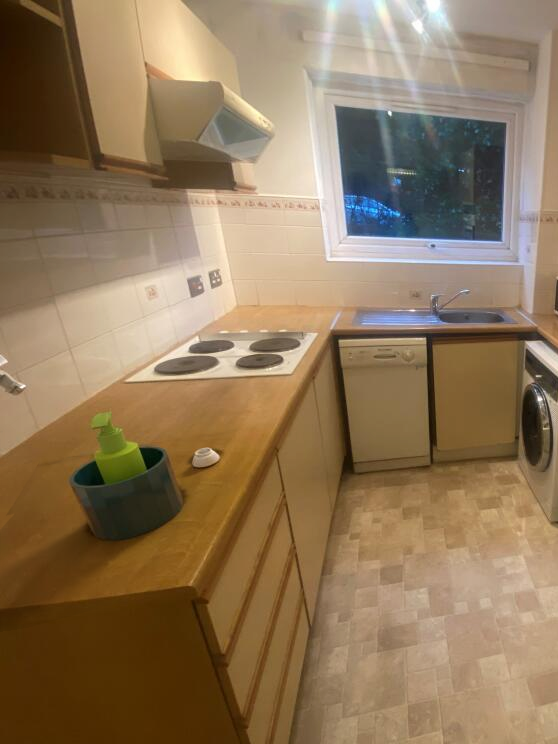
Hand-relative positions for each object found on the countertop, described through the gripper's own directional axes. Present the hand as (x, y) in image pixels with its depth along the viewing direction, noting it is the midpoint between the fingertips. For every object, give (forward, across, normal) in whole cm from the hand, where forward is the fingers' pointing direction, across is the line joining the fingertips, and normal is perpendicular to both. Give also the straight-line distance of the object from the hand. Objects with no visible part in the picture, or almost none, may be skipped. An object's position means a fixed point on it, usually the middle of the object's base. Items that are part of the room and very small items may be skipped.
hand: (8, 401), depth 74 cm
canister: (+26, -9, +6) cm, 28 cm away
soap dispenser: (+26, -9, +5) cm, 28 cm away
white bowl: (+32, +7, 0) cm, 33 cm away
